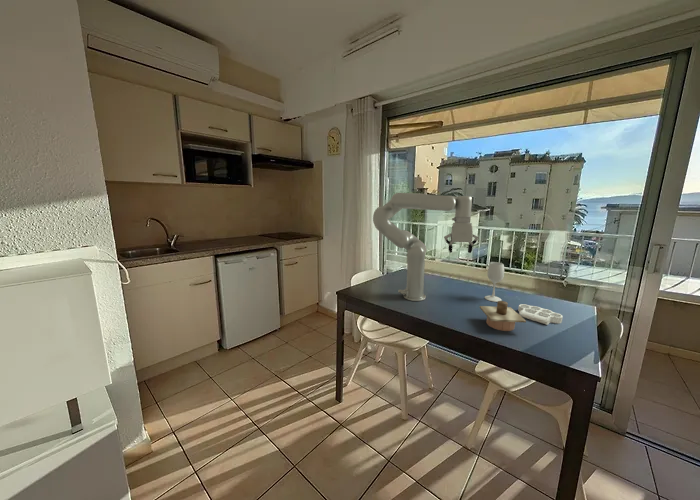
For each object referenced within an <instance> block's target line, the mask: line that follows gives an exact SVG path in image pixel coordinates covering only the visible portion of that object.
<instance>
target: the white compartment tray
mask: <svg viewBox="0 0 700 500" xmlns="http://www.w3.org/2000/svg"><path fill="white" fill-rule="evenodd" d="M517 310H518V312H519V313H518V314H519V315H520V316H521V317H522V318H523V319H527V320H530V321H534V322H537V323H540V324H544V325H546V326H548V325H550V323H553V324H562V322H563V315H562V313H558V312H554V311H552V310H550V309H547V308H542V307H540V306H535V305H529V304H525V303H524V304H522V303H520V304H519V305H518V309H517Z"/></svg>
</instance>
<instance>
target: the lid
mask: <svg viewBox="0 0 700 500" xmlns="http://www.w3.org/2000/svg"><path fill="white" fill-rule="evenodd" d="M496 303H497V304H496V306H489V305H488V306H487V305H479V309H480V310H481V311H482V312H483V314H484V315H485V316H486V318H487V317H488V318H489V319H490V320H491V321H503V322H515V323H527V320H526V318H524V317H521V316H520V315H519V313H518V312H517V311H515V309H513V308H512V307H511V306H508V304H509V303H508V302H507V301H505V300H504V301H503V300H502V301H498V302H496Z"/></svg>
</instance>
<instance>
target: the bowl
mask: <svg viewBox="0 0 700 500" xmlns="http://www.w3.org/2000/svg"><path fill="white" fill-rule="evenodd" d="M486 324H487V326H488V327H490V328H493V329H494V330H497V331H503V332H510V331H514V330H515V326H516V322H503V321H491V320H490V319H489V318H488V317H487V316H486Z"/></svg>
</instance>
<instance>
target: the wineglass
mask: <svg viewBox="0 0 700 500" xmlns="http://www.w3.org/2000/svg"><path fill="white" fill-rule="evenodd" d="M504 276H505V265H504V263H502V262H497V261H490V263H489V264H488V268H487V278H488V279H489V281H491V283H492V293H491V295H485V296H484V299H485V300H486V301H489V302H493V303H494V302H495V303H497V302H498V301H503V299H501V298H500V297H498V296H497V295H496V285H497V283H499V282H501V281H502V280H503V279H504Z"/></svg>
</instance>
